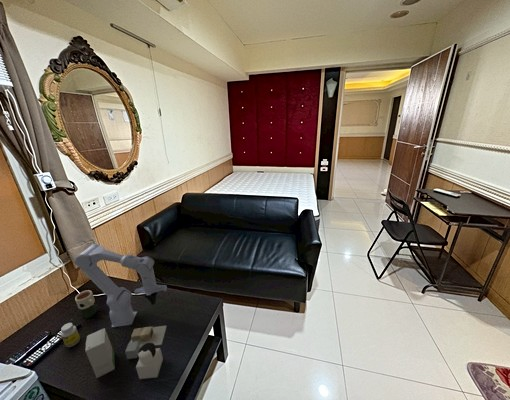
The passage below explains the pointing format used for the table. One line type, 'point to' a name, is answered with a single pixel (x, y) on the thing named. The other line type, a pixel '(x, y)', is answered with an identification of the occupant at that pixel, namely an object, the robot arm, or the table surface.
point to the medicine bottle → (149, 361)
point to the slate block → (132, 350)
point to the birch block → (142, 334)
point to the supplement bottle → (70, 335)
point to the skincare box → (100, 352)
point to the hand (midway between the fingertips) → (153, 302)
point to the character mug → (86, 303)
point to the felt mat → (155, 336)
